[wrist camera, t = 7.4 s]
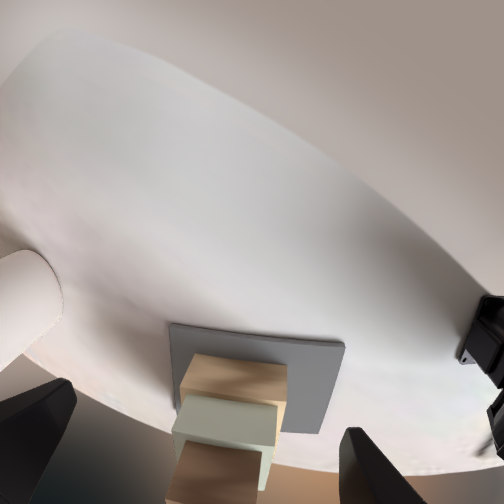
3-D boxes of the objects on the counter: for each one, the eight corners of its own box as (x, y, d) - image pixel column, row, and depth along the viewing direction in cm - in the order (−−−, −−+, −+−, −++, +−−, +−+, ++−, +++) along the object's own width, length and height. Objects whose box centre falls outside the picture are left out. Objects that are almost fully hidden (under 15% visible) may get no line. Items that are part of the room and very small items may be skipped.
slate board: (344, 343, 21) (345, 347, 20) (317, 429, 24) (318, 433, 23) (171, 323, 22) (169, 327, 21) (178, 411, 25) (177, 416, 24)
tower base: (287, 365, 21) (286, 401, 18) (275, 424, 23) (273, 459, 20) (195, 353, 22) (179, 386, 18) (197, 413, 24) (185, 445, 20)
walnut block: (262, 451, 15) (254, 515, 10) (255, 485, 16) (248, 538, 12) (186, 439, 15) (164, 498, 11) (190, 474, 16) (174, 524, 12)
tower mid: (277, 406, 18) (275, 446, 14) (267, 455, 19) (264, 490, 16) (187, 393, 18) (171, 430, 15) (191, 443, 20) (180, 477, 17)
